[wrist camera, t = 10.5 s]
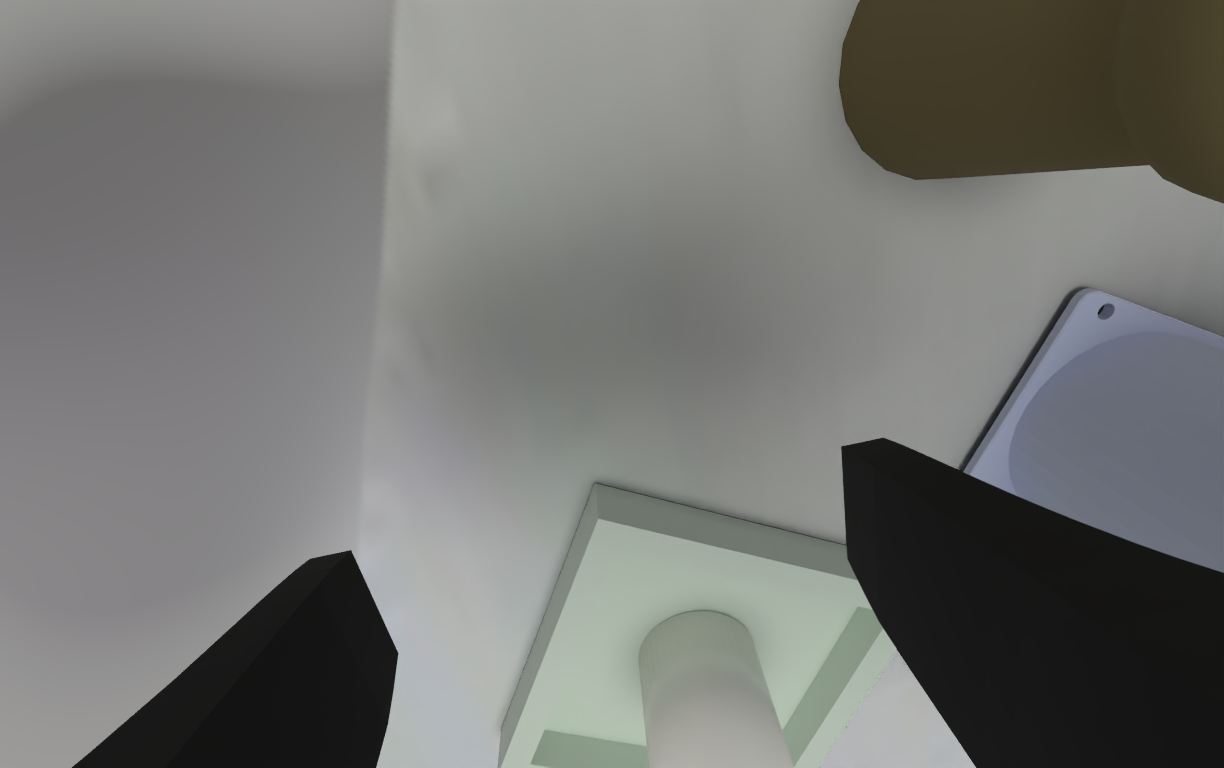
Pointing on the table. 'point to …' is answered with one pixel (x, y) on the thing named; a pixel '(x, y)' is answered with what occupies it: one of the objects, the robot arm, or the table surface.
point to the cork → (1038, 87)
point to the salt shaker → (707, 697)
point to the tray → (679, 583)
